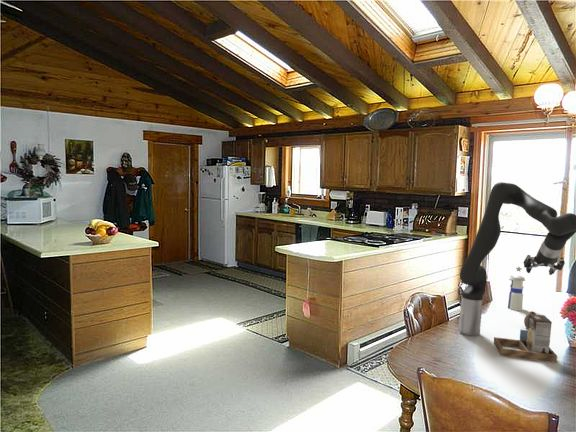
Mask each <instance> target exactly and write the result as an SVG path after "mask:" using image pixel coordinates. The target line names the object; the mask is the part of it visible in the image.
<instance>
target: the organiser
mask: <svg viewBox="0 0 576 432" xmlns="http://www.w3.org/2000/svg"><path fill="white" fill-rule="evenodd" d="M527 330H528V329H522V328H521V329H520V331H519V339H514V338H505V337H504V338H502V337H497V336H494V337H493V346H494V347H495V348H496V350H497V352H498V353H499V355H500V356H501V357H502V356H503V357H508V358H509V357H510V358H518V359H526V360H532V361H541V362H547V363H555V364H557V362H558V361H557V360H558V354H557V353H556V352H554V350H553V349H552V348H551V347H550V346H549V354H546V353H539V352H531V351H529V350H528V349H527V348H526V341H527ZM503 346H505V347H513V348H518V349H512V348H505V347H503Z"/></svg>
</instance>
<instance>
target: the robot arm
mask: <svg viewBox="0 0 576 432" xmlns="http://www.w3.org/2000/svg"><path fill="white" fill-rule="evenodd" d="M504 204H505V205H514V206H517V207H520V208H522V209H523V210H524V212H525V213H526V214H527V215H528V216H529V217H531V218H532V219H534V220H536V221H538V222H539V223H541V224H542V225H543V227H545V229H546V230H547V231H548V233H547V234H546V235H545V238H544V240H543V241H542V243H541V245H540V247H539V249H538V251H537V252H536V255H535V256H531V255H530V254H528V255H526V257H525V259H524V260H523V268H525V271H526V273H527V274H530V273H531V271H532V270H533V268H538V267H545V268H547V267H549V270H548V275H550V276H551V275H554V273H555V272H556V271H557V270H558V271H562V270H563V268H564V266H565V264H566V262H565V259H564V257H560V256H561V254H562V253H563V249H564V247H565V245H566V243H567V241H569V240H570V239H571V238H573V236H574V235H575V234H576V214H574V213H572V212H570V213H569V212H568V213H564V214H562V215H559V216H558V212H557V210H556V209H555V208H553V207H552V206H550V205H547V204H545V203H544V202H542V201H540V200H538V199H536V198H534V197H533V196H531V195H530V194H529V193H527V192H526V191H525V190H523V188H521V187H520V186H518V185H517V184H515V183H510V182H502V181H500V182H496V183H495V184H494V185H493V186H492V188H491V190H490V192H489V196H488V200H487V205H486V207H485V211H484V214H483V217H482V220H481V223H480V225H479V227H478V230H477V232H476V235H475V238H474V241H473V243H472V246H471V249H470V251H469V254H468V255H467V257H466V259H465V261H464V263H463V265H462V267H461V269H460V271H459V277H460V281H461V283H462V284H464V285H467V286H466V288H465V289H463V290H462V293H461V303H460V310H459V319H458V320H459V322H458V331H459V333H460V334H463V335H466V336H471V337H474V336H475V337H476V336H479V335H481V326H482V325H481V323H482V312H483V310H482V309H483V300H484V296H485V292H486V287H487V278H488V274H487V271H486V269H485V267H484V266H482V265H481V264H482V262H483V261H484V259H485V258H486V257H487V256H489V254H490V253H491V252H492V251H493V249H494V248H495V247H496V245H497V243H498V240H499V238H500V236H501V229H502V228H501V224H500V222H501V221H500V213H501V209H502V206H503V205H504Z"/></svg>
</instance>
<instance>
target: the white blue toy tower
mask: <svg viewBox="0 0 576 432" xmlns="http://www.w3.org/2000/svg"><path fill="white" fill-rule="evenodd" d="M515 269H516V272H521V270H522V267H520V266H518V267H515ZM508 280H509V281H511V284H510V285H509V287H510V290H509V295H508V302H507V309H509V310H512V311H519V312H520V311H521V312H522V311H523V302H524V301H523V299H524V294H523V290H524V286H523V284H524V282H525V281H526V279H525V277H524V276H522V275H518V276H517V277H515V276H513V275H509V279H508Z"/></svg>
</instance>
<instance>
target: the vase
mask: <svg viewBox="0 0 576 432" xmlns="http://www.w3.org/2000/svg"><path fill="white" fill-rule="evenodd" d="M529 314H534V315H537V312H536V311H531V310H530V311H529V312H528V314H527V315H525V316H524V320H523V324H524V326H525V328H526V330H528V318H529Z"/></svg>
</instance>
